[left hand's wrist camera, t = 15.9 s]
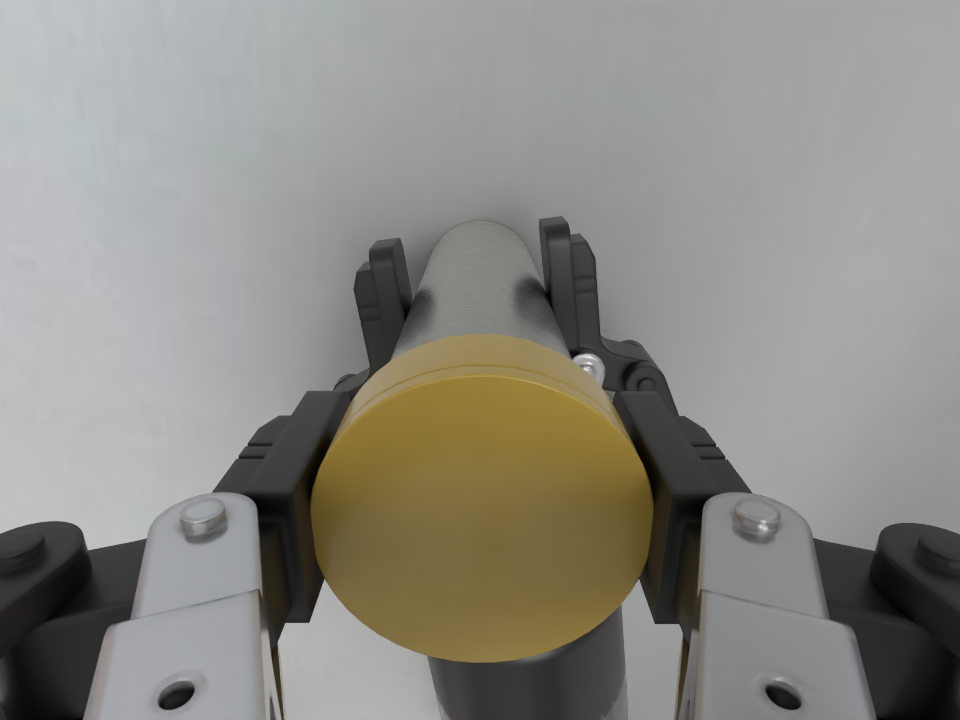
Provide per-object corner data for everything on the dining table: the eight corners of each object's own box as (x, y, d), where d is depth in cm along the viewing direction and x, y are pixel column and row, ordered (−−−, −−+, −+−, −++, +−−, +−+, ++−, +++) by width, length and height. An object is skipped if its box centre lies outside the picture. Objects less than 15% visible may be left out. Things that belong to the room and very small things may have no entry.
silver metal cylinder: (508, 202, 24) (559, 339, 8) (549, 299, 25) (657, 567, 10) (410, 247, 24) (291, 450, 9) (455, 339, 26) (419, 649, 10)
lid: (285, 389, 10) (246, 441, 8) (580, 288, 9) (602, 322, 8) (401, 616, 12) (388, 695, 10) (658, 543, 11) (690, 615, 10)
